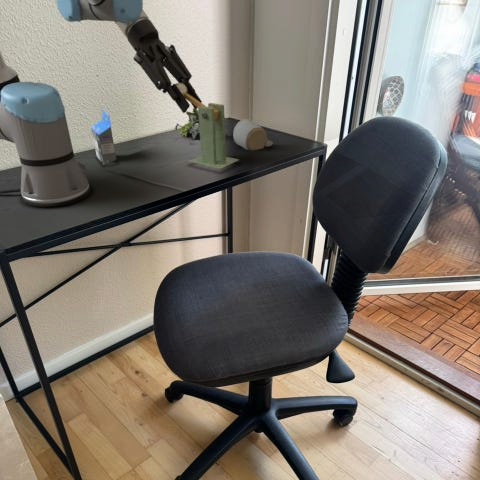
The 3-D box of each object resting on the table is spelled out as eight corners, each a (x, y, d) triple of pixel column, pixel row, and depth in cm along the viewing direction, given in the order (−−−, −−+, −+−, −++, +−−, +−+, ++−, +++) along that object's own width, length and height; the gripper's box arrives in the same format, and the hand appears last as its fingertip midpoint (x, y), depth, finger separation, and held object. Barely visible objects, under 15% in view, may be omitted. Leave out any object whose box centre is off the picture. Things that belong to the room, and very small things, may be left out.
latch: (167, 96, 122) (170, 81, 119) (177, 93, 125) (180, 78, 122) (208, 125, 119) (212, 110, 116) (218, 121, 121) (222, 107, 119)
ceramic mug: (246, 155, 132) (246, 127, 128) (232, 148, 138) (232, 120, 133) (278, 150, 136) (279, 122, 132) (263, 143, 142) (264, 115, 137)
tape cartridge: (96, 157, 134) (87, 111, 126) (109, 155, 135) (101, 109, 128) (104, 166, 127) (94, 118, 120) (118, 164, 129) (110, 116, 121)
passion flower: (210, 155, 150) (230, 125, 142) (188, 158, 142) (209, 126, 134) (188, 129, 151) (206, 98, 144) (165, 131, 143) (184, 98, 135)
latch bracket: (188, 165, 127) (183, 106, 118) (208, 156, 132) (204, 99, 123) (220, 173, 121) (217, 112, 113) (239, 164, 127) (238, 105, 118)
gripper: (155, 37, 128) (206, 110, 130) (107, 44, 117) (163, 124, 119) (167, 14, 122) (220, 91, 124) (118, 20, 111) (177, 104, 113)
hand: (192, 107), depth 122 cm, fingers closed on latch, 4 cm apart
